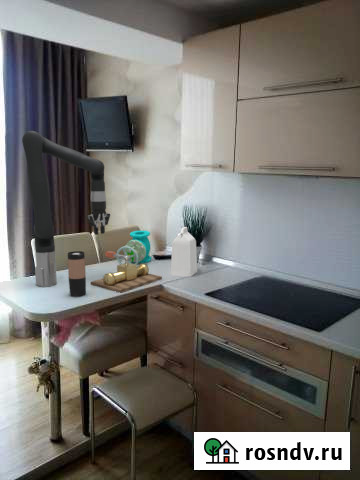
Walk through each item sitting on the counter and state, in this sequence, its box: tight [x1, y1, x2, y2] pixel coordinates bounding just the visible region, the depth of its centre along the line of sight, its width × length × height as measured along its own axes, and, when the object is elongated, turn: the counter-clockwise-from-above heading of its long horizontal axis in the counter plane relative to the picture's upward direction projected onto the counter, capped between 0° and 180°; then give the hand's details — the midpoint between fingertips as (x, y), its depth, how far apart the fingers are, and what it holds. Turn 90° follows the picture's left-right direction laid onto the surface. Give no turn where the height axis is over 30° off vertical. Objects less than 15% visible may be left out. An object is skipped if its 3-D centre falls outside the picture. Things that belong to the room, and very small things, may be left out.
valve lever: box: [105, 250, 130, 260], centre depth 204 cm, size 3×16×3 cm, turn 52°
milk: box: [170, 226, 198, 278], centre depth 217 cm, size 12×12×26 cm
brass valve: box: [102, 259, 149, 286], centre depth 201 cm, size 28×7×11 cm, turn 142°
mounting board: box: [90, 273, 163, 294], centre depth 202 cm, size 30×22×2 cm
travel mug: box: [67, 250, 87, 298], centre depth 180 cm, size 8×8×20 cm
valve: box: [115, 230, 152, 266], centre depth 239 cm, size 14×18×30 cm
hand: (99, 233), depth 199 cm, fingers open, 3 cm apart
